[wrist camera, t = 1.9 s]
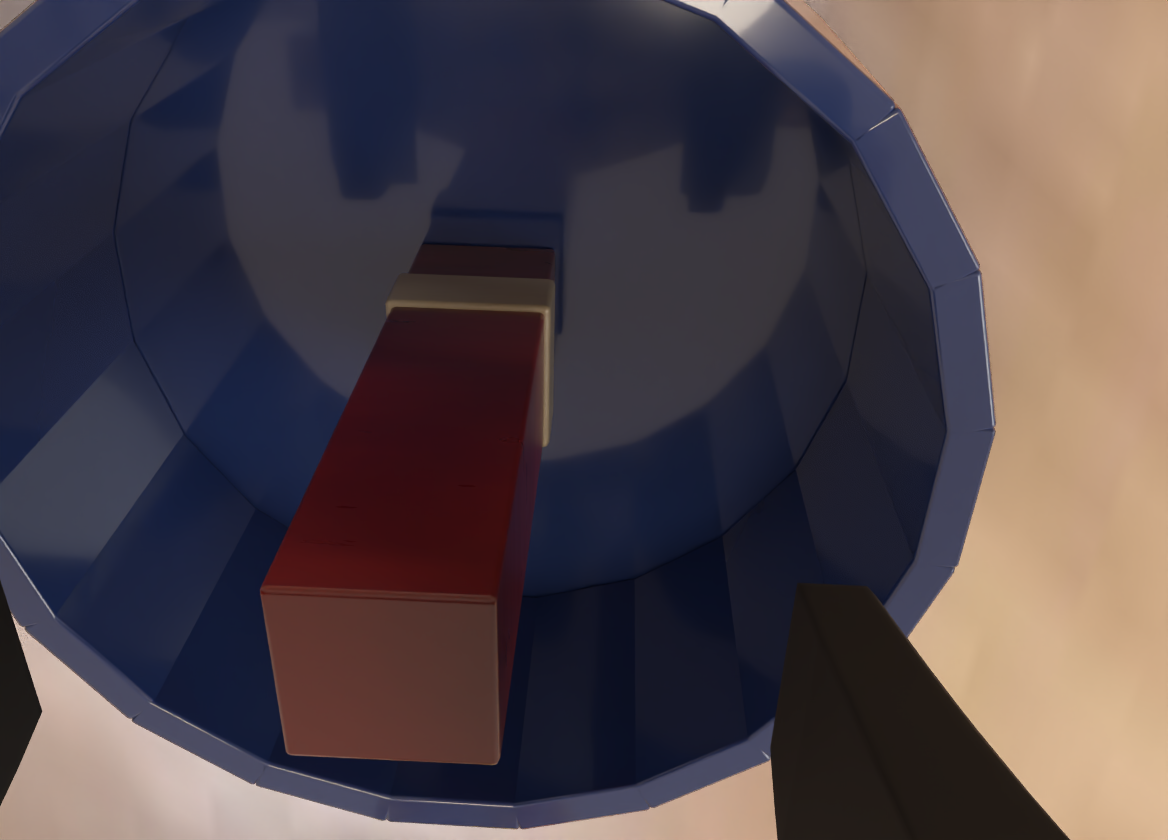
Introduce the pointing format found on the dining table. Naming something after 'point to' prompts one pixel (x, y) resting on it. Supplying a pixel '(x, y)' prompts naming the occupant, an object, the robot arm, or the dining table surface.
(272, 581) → the dark red rectangular block
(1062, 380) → the dining table surface
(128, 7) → the blue round bowl
